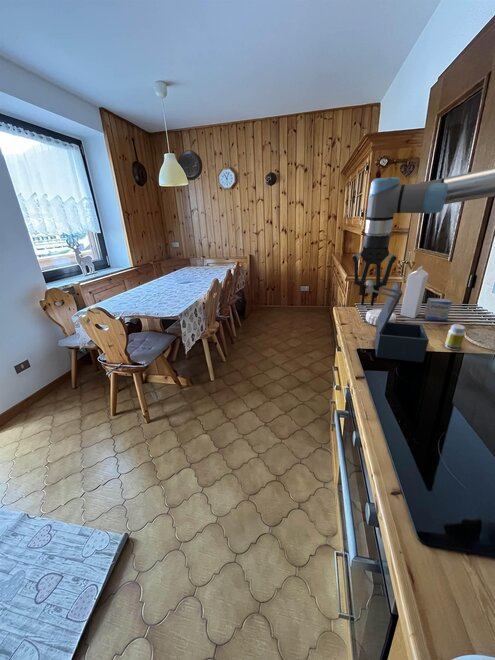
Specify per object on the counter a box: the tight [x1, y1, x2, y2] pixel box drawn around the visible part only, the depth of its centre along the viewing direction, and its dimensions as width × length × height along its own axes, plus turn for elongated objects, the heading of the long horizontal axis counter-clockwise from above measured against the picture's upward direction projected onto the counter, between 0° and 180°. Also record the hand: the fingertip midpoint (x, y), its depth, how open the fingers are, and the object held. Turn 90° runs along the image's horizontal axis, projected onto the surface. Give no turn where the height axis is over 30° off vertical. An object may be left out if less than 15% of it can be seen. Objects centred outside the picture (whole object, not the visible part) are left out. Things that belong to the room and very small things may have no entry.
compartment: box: [374, 321, 430, 363], centre depth 101 cm, size 15×12×9 cm
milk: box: [399, 265, 429, 319], centre depth 123 cm, size 6×6×22 cm
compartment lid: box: [365, 279, 403, 334], centre depth 97 cm, size 16×12×10 cm
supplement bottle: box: [444, 323, 466, 351], centre depth 101 cm, size 5×5×8 cm
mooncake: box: [365, 308, 397, 327], centre depth 124 cm, size 12×12×4 cm
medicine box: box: [423, 297, 453, 322], centre depth 122 cm, size 8×4×9 cm, turn 73°
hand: (367, 303), depth 98 cm, fingers closed on compartment lid, 2 cm apart
